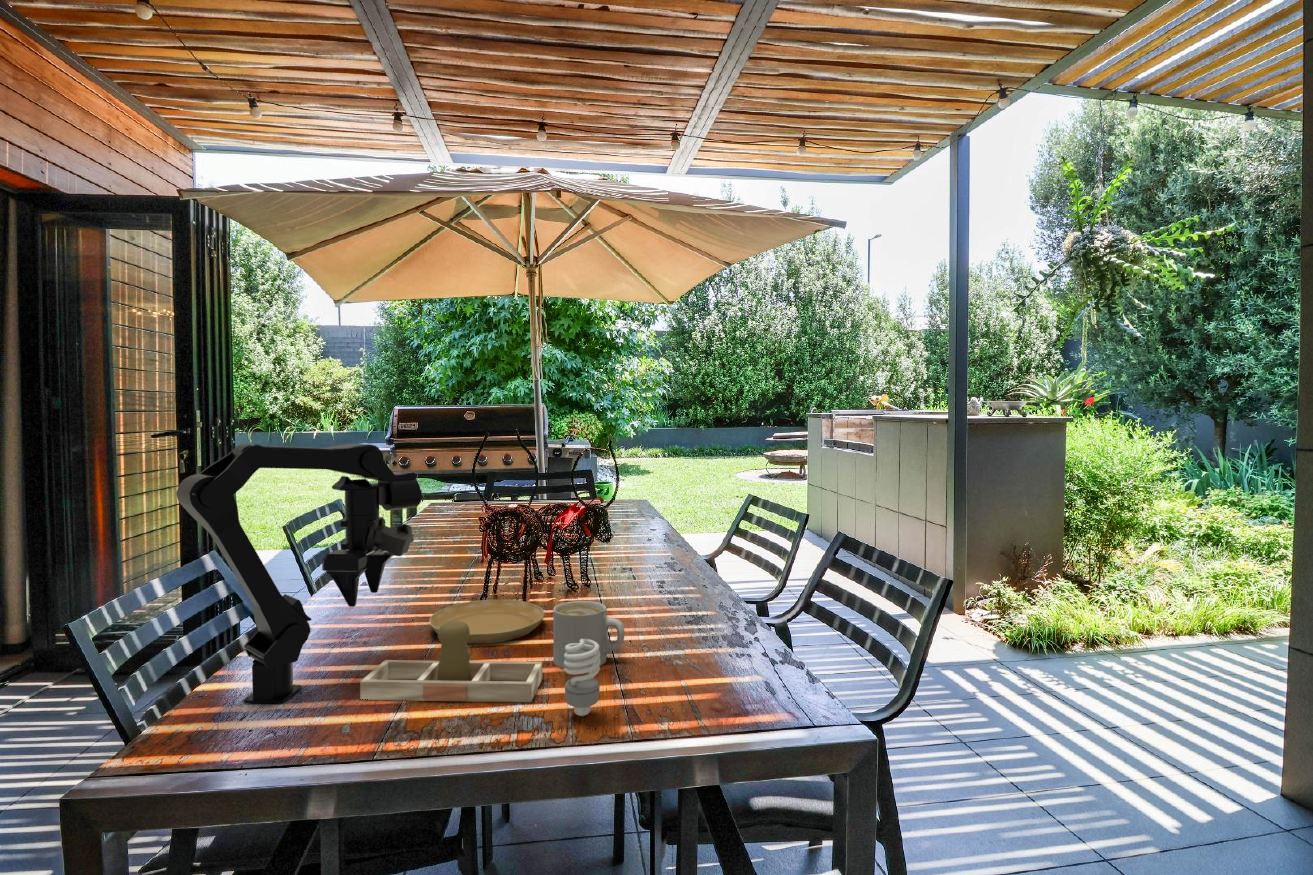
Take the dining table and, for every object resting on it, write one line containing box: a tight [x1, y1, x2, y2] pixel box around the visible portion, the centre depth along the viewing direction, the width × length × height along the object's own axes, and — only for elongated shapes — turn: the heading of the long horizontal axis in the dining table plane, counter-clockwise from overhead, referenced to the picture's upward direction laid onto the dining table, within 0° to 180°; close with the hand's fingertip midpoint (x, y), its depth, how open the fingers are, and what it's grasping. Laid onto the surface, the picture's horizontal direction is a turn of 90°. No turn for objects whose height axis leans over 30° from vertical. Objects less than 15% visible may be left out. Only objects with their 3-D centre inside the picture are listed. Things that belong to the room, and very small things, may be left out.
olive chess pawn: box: [437, 621, 472, 681], centre depth 122 cm, size 6×6×11 cm
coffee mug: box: [552, 600, 625, 669], centre depth 135 cm, size 13×10×10 cm
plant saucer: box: [428, 599, 545, 645], centre depth 155 cm, size 24×24×3 cm
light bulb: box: [563, 639, 601, 718], centre depth 111 cm, size 6×6×12 cm
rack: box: [359, 659, 543, 703], centre depth 122 cm, size 10×28×3 cm, turn 89°
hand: (363, 599), depth 130 cm, fingers open, 9 cm apart
